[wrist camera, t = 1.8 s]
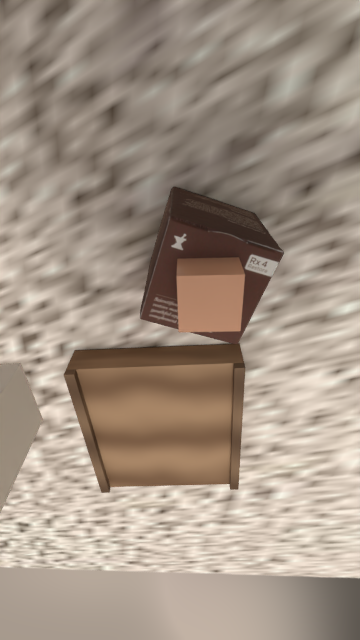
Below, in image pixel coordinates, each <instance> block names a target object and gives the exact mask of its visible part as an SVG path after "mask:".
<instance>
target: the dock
mask: <svg viewBox="0 0 360 640" xmlns="http://www.w3.org/2000/svg"><path fill="white" fill-rule="evenodd" d="M64 377H65V380H66V383H67V387H68V390H69V393H70V396H71V399H72V402H73V405H74V408H75V411H76V414H77V418H78V421H79V424H80V427H81V430H82V433H83V436H84V439H85V442H86V446H87V449H88V452H89V455H90V458H91V461H92V464H93V467H94V470H95V473H96V477H97V480H98V483H99V486H100V489H101V492H102V493H104V492H110V487H123V486H164V485H205V484H230V489H238V485H239V467H240V449H241V432H242V414H243V397H244V379H245V365H244V361H243V357H242V352H241V348H240V344H220V345H196V346H172V347H147V348H123V349H99V350H75V351H74V353H73V356H72V358H71V360H70V362H69V364H68V367H67V369H66V371H65V373H64Z"/></svg>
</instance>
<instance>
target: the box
mask: <svg viewBox="0 0 360 640" xmlns="http://www.w3.org/2000/svg"><path fill="white" fill-rule="evenodd" d="M283 254H284V252H283V250H282V249H280V247H279V246H278V244H277V243H276V242H275V240H274V239H273V238H272V236H271V235H270V234H269V232H268V231H267V229H266V228H265V227H264V225H263V224H262V223H261V222H260V220H259V219H258V218H257V216H256V214H255V213H252V212H249V211H246V210H243V209H240V208H237V207H234V206H231V205H228V204H225V203H222V202H219V201H217V200H213V199H210V198H207V197H204V196H201V195H198V194H195V193H192V192H189V191H186V190H183V189H180V188H177V187H173V188H172V189H171V192H170V195H169V198H168V202H167V205H166V208H165V212H164V215H163V219H162V222H161V226H160V229H159V233H158V236H157V240H156V243H155V247H154V251H153V255H152V258H151V262H150V266H149V272H148V277H147V281H146V286H145V292H144V296H143V300H142V305H141V310H140V319H142V320H146V321H150V322H154V323H157V324H161V325H164V326H168V327H172V328H176V329H179V327H178V301H177V259H187V258H232V257H239V259H240V262H241V265H242V267H243V270H244V273H245V281H244V294H243V306H242V318H241V331H225V332H191V333H195V334H199V335H202V336H206V337H210V338H214V339H217V340H221V341H225V342H229V343H232V344H238V342H239V340H240V339H241V337H242V335H243V333H244V331H245V329H246V327H247V325H248V323H249V321H250V319H251V317H252V315H253V313H254V311H255V309H256V307H257V305H258V303H259V301H260V299H261V297H262V295H263V293H264V291H265V289H266V287H267V285H268V283H269V281H270V279H271V277H272V276H273V274H274V272H275V270H276V268H277V266H278V264H279V262H280V260H281V258H282V256H283Z"/></svg>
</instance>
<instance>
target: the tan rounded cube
mask: <svg viewBox="0 0 360 640" xmlns="http://www.w3.org/2000/svg"><path fill="white" fill-rule="evenodd" d="M244 281H245V273H244V270H243V267H242V265H241V262H240V259H239V257H232V258H187V259H177V301H178V327H179V332H225V331H241V318H242V306H243V294H244Z"/></svg>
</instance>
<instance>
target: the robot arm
mask: <svg viewBox="0 0 360 640" xmlns="http://www.w3.org/2000/svg"><path fill="white" fill-rule="evenodd" d="M42 421H43V418H42V416H41V413H40V411H39V408H38V406H37V403H36V401H35V398H34V396H33V393H32V390H31V388H30V385H29V383H28V380H27V378H26V375H25V373H24V370H23V367H22V365H21V363H15V364H0V512H1V510H2V508H3V506H4V504H5V502H6V499H7V497H8V495H9V493H10V491H11V488H12V486H13V484H14V482H15V480H16V477H17V475H18V473H19V471H20V469H21V467H22V464H23V462H24V460H25V458H26V456H27V453H28V451H29V449H30V447H31V445H32V443H33V440H34V438H35V436H36V434H37V432H38V429H39V427H40V425H41V423H42Z"/></svg>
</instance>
